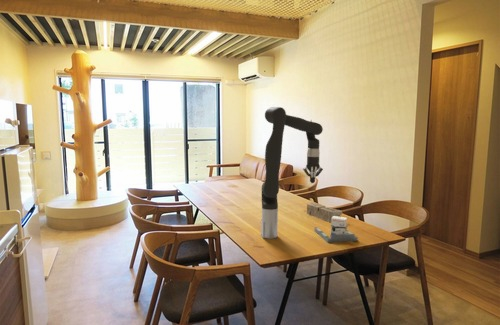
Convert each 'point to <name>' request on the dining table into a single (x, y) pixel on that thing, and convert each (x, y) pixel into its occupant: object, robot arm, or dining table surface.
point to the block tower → (322, 211)
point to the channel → (337, 236)
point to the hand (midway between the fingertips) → (312, 182)
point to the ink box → (338, 225)
